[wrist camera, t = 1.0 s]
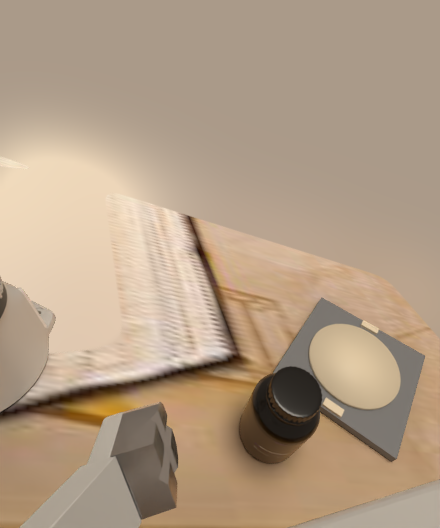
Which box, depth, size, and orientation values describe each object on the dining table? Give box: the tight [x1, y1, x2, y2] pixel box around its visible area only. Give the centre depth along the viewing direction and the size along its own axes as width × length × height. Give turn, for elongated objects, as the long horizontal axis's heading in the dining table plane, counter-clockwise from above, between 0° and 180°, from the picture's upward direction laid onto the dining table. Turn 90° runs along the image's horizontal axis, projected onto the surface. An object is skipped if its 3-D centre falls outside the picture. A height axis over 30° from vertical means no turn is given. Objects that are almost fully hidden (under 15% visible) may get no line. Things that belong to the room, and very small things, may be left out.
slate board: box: [273, 298, 425, 462], centre depth 44 cm, size 16×16×2 cm
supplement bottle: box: [240, 366, 322, 463], centre depth 33 cm, size 7×7×12 cm
